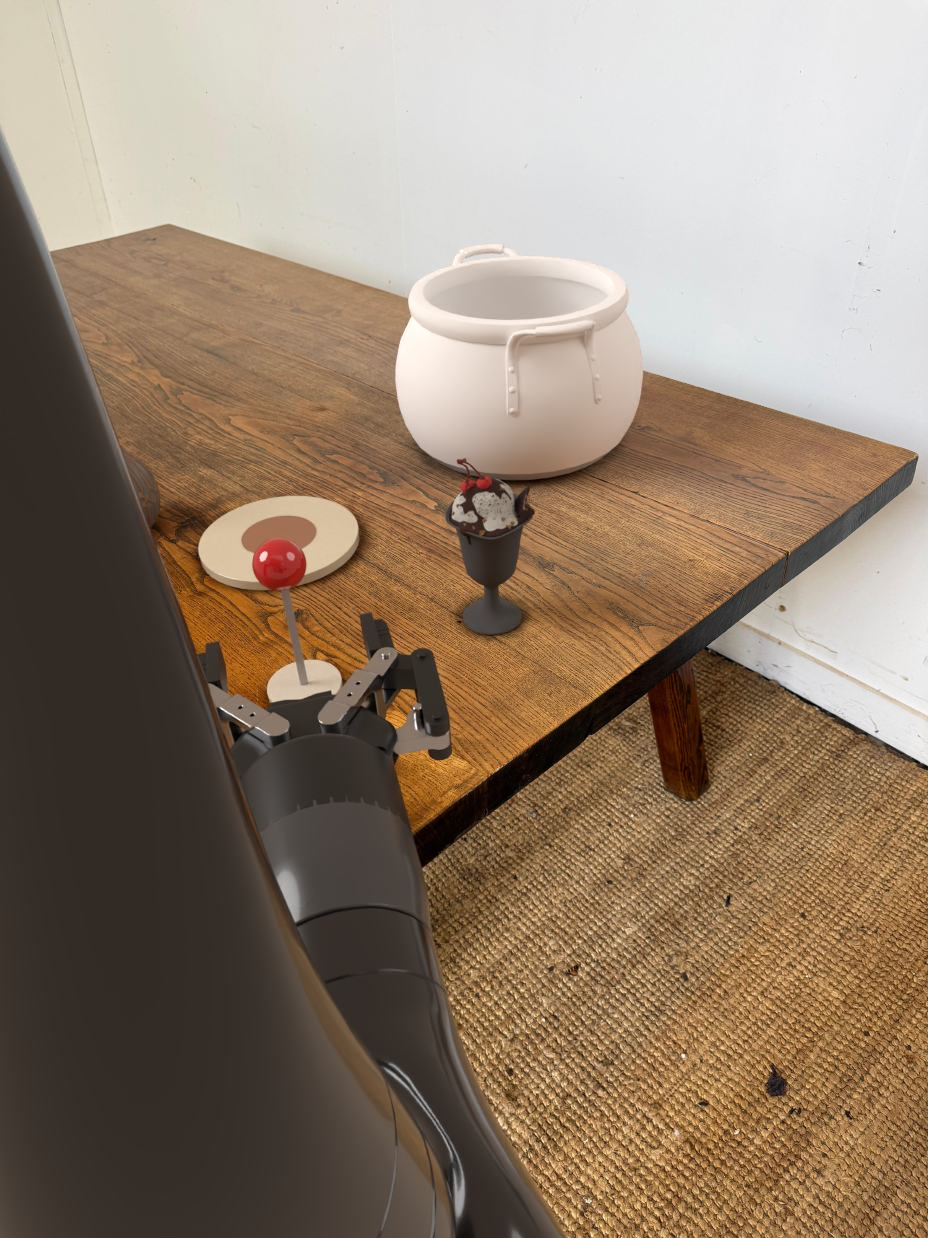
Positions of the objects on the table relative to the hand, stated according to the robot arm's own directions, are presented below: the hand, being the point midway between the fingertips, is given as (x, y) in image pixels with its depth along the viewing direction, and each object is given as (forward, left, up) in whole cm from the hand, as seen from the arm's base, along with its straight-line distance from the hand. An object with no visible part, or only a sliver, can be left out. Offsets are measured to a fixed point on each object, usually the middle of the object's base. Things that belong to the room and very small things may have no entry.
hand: (292, 639), depth 50 cm
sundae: (+16, +16, -14) cm, 26 cm away
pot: (+28, +47, -14) cm, 56 cm away
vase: (-14, +41, -14) cm, 45 cm away
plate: (0, +33, -14) cm, 36 cm away
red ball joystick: (0, +11, -14) cm, 18 cm away
